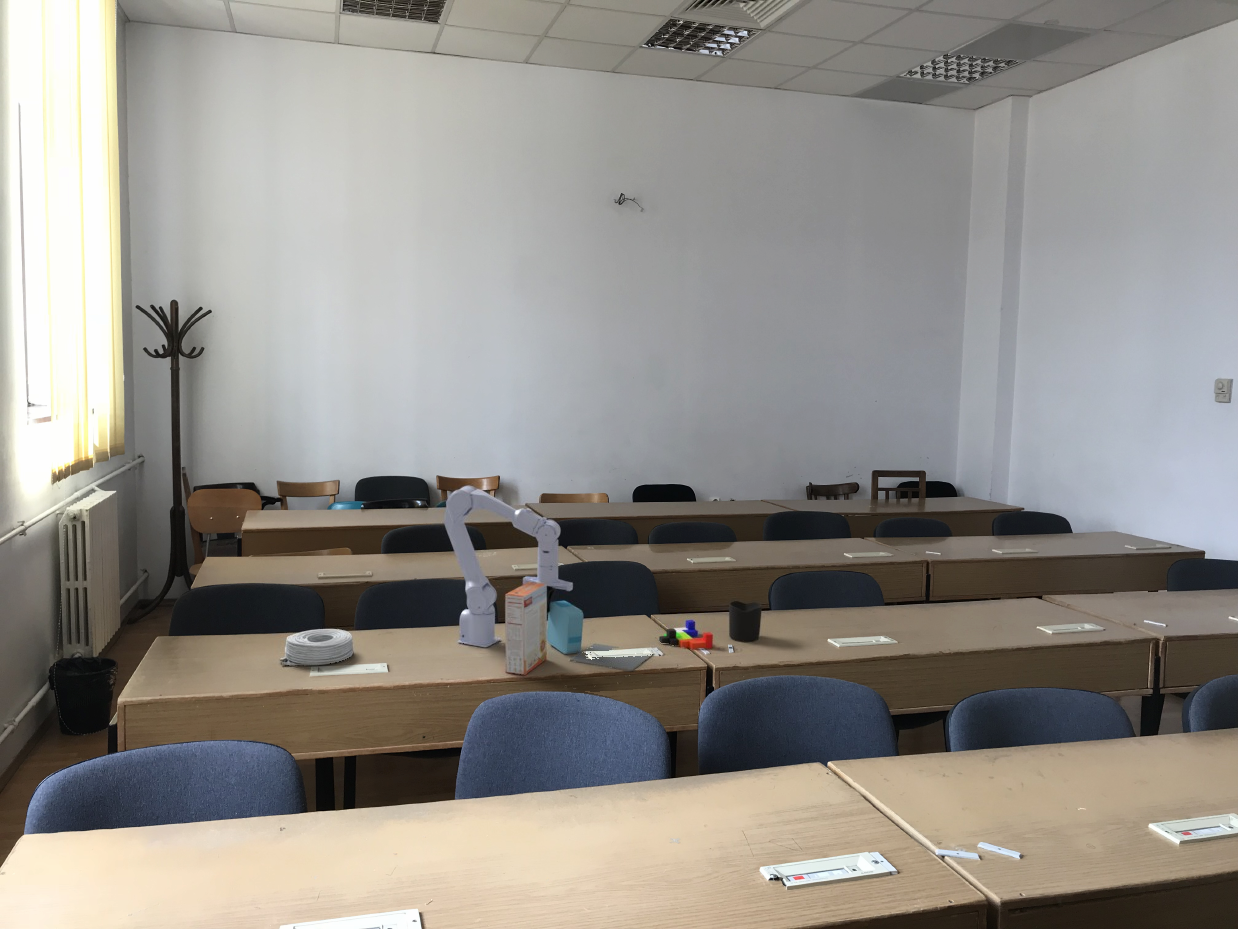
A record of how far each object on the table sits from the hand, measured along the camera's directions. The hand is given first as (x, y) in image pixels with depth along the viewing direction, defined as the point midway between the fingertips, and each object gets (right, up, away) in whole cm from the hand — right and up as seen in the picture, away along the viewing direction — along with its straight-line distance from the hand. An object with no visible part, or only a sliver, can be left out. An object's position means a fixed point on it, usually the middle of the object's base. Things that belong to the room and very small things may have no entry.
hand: (547, 612), depth 263 cm
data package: (+5, -10, -1) cm, 11 cm away
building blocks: (+38, -10, +8) cm, 40 cm away
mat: (+18, -11, -8) cm, 23 cm away
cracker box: (-4, -12, -16) cm, 20 cm away
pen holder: (+57, -10, +13) cm, 59 cm away
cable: (-59, -10, -12) cm, 61 cm away
